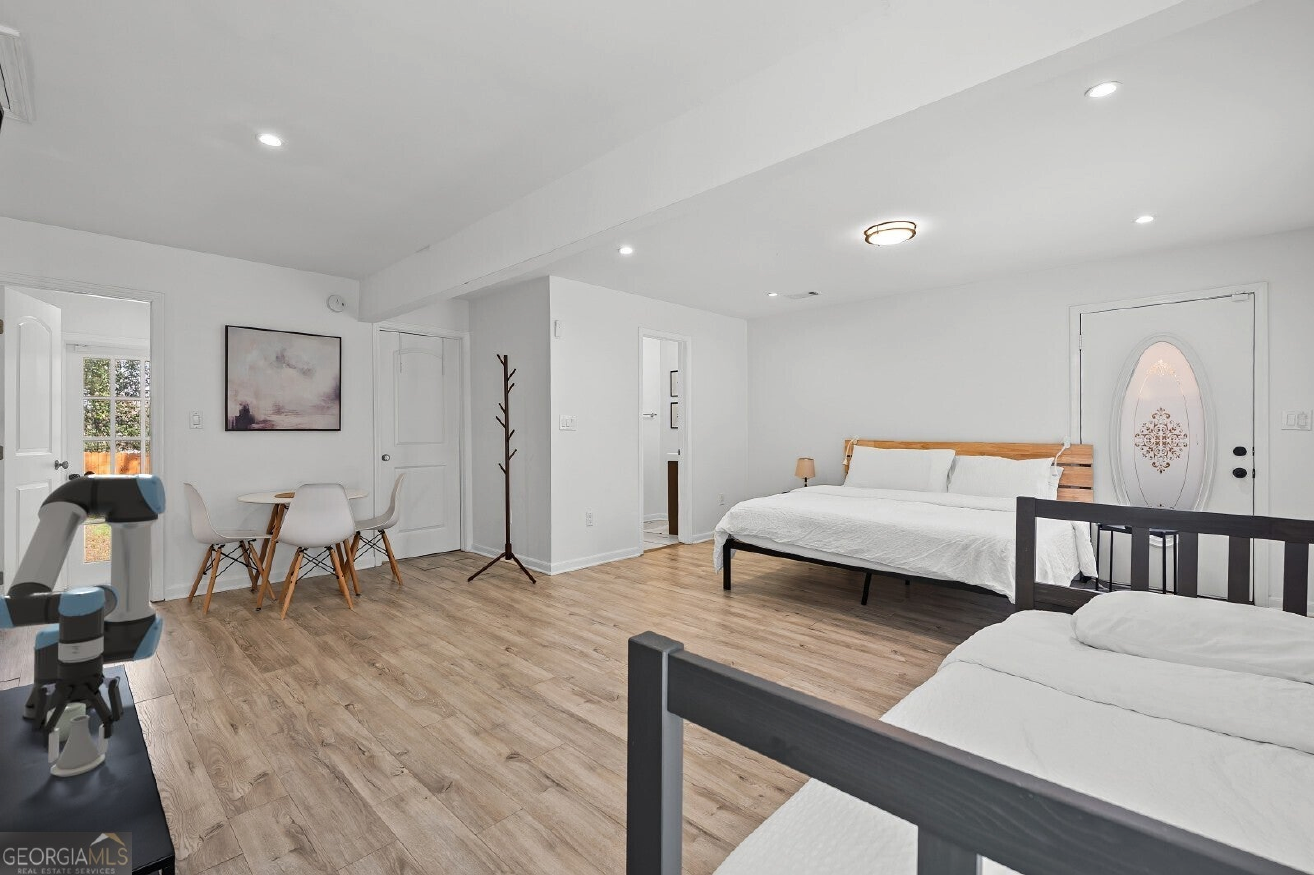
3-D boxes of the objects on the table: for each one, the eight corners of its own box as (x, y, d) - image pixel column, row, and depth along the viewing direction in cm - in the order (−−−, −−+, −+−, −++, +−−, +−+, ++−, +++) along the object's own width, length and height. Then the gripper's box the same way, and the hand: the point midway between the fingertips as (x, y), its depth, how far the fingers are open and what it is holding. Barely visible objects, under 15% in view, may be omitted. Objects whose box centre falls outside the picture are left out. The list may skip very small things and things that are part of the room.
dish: (61, 761, 140) (62, 756, 140) (111, 754, 143) (111, 749, 143) (41, 782, 132) (41, 777, 132) (94, 774, 135) (95, 768, 135)
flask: (72, 772, 133) (74, 727, 133) (47, 768, 135) (48, 723, 135) (108, 755, 140) (109, 713, 140) (83, 751, 142) (85, 709, 142)
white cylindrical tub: (54, 731, 153) (55, 703, 153) (90, 726, 156) (90, 699, 156) (40, 744, 147) (41, 715, 147) (77, 739, 150) (78, 710, 150)
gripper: (10, 669, 130) (7, 774, 130) (132, 657, 138) (129, 755, 138) (29, 657, 137) (26, 756, 137) (144, 646, 145) (141, 740, 145)
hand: (78, 755), depth 138 cm, fingers open, 8 cm apart
